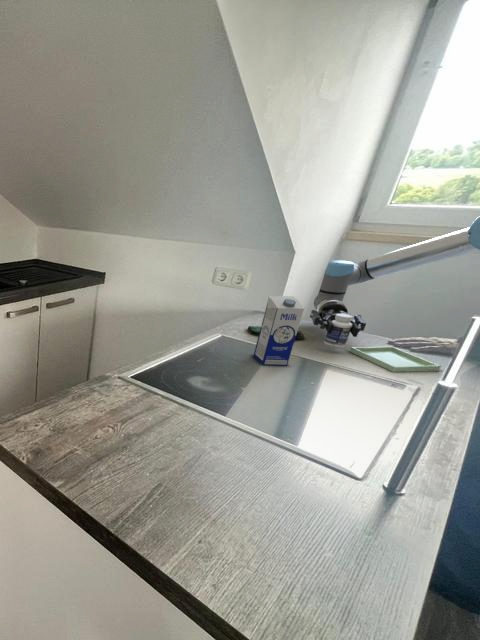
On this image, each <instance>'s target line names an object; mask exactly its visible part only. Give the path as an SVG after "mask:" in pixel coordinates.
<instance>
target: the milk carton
mask: <svg viewBox="0 0 480 640" xmlns="http://www.w3.org/2000/svg"><path fill="white" fill-rule="evenodd" d="M304 310H305V307H304V305H303V304H302V303H301V302H300V301H299V300H298V298H296V297H295V296H293V295H290V296H285V295H269V296H268V299H267V302H266V306H265V310H264V314H263V317H262V321H261V325H260V327H261V329H260V333H259V336H258V335H257V336H258V337H257V340H256V345H255V349H254V351H253V358H255V360H257V361H258V362H259V363H260V364H261V365H262V366H288V363H289V360H290V357H291V354H292V351H293V348H294V344H295V341H296V340H295V337H296V334H297V331H299V327H300V324H301V321H302V318H303V314H304Z"/></svg>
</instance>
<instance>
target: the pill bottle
mask: <svg viewBox="0 0 480 640" xmlns="http://www.w3.org/2000/svg"><path fill="white" fill-rule="evenodd" d="M352 316H353V315H348V314H336V317H335V320H333V321H332V323H333V325H334V327H333V330H332V332H331V334H328V333H327V332H326V334H325V337H324V339H323V343H324V344H325V345H327V346H331V347H336V348H342V347H345V346H346V344H347V341H348V339H349V337H350V334H351V332H350V331H351V328H352V323H350V321H351V320H352Z"/></svg>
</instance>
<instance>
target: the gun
mask: <svg viewBox="0 0 480 640" xmlns="http://www.w3.org/2000/svg"><path fill="white" fill-rule="evenodd" d="M260 329H261V326H255V325H249V326H247V330H248V332H249V333H250V334H251V335H253V336H259V333H260ZM304 335H305V334H304V333H303V332H302V331H301V330H298V331H297V334H296V337H295V341H299V340H300V341H301V340H303V339H304V338H305V336H304Z"/></svg>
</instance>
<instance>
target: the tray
mask: <svg viewBox="0 0 480 640" xmlns="http://www.w3.org/2000/svg"><path fill="white" fill-rule="evenodd" d="M349 353H352V354H353V355H356V356H358V357H360V358H363V359H364V360H367V361H368V362H371V363H373V364H375V365H377V366H379V367H381V368H384V369H386V370H387V371H390V372H392V373H399V372H401V373H402V372H435V371H436V372H439V371H440V370H441V367H442V366H441V365H440V364H437V363H435V362H433V361H430V360H427V359H425V358H422V357H420V356H418V355H415V354H412V353H410V352H407V351H404V350H403V349H399V348H397V347H395V346H392V345H390V346H389V345H387V346H356V347H355V346H353V347H352V346H351V347H350V349H349Z"/></svg>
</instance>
